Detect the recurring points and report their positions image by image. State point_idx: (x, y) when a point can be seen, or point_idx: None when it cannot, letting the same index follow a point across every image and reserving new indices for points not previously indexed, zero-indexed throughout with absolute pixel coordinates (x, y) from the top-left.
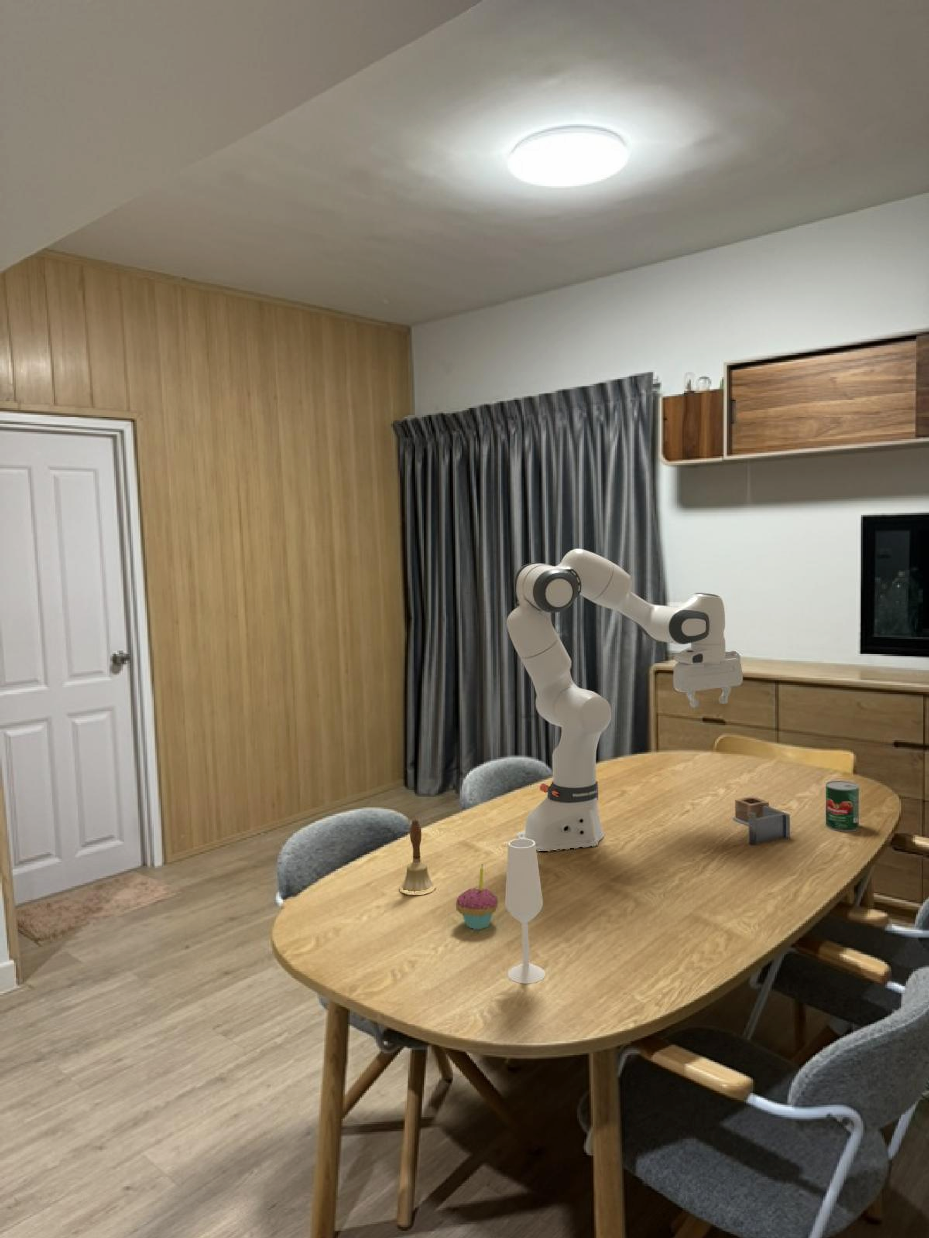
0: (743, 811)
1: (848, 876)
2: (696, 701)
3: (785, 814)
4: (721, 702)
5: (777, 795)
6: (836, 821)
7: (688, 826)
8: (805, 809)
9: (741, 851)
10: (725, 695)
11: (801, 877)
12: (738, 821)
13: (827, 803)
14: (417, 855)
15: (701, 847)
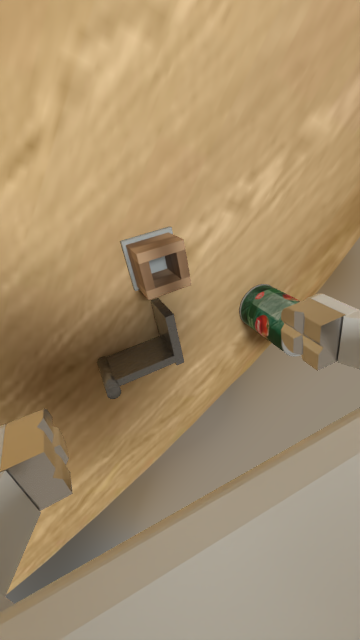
0: (137, 274)
1: (164, 451)
2: (45, 500)
3: (178, 361)
4: (288, 325)
5: (278, 107)
6: (249, 325)
7: (5, 262)
8: (265, 216)
9: (71, 390)
10: (351, 357)
11: (113, 460)
12: (125, 258)
13: (263, 321)
14: None
15: (4, 375)
